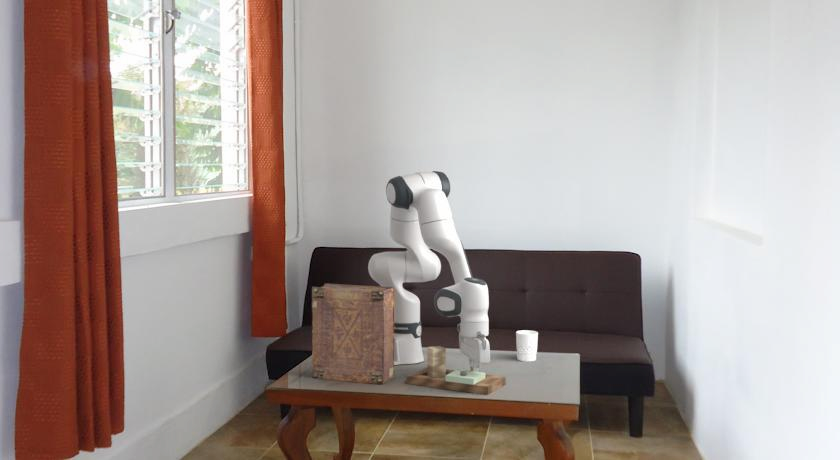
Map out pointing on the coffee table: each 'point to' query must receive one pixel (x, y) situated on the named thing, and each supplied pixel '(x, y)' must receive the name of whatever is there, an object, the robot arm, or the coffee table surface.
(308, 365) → the coffee table surface
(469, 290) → the robot arm
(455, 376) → the lid
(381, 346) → the book
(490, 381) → the puzzle board
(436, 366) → the maple block
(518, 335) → the white cup
